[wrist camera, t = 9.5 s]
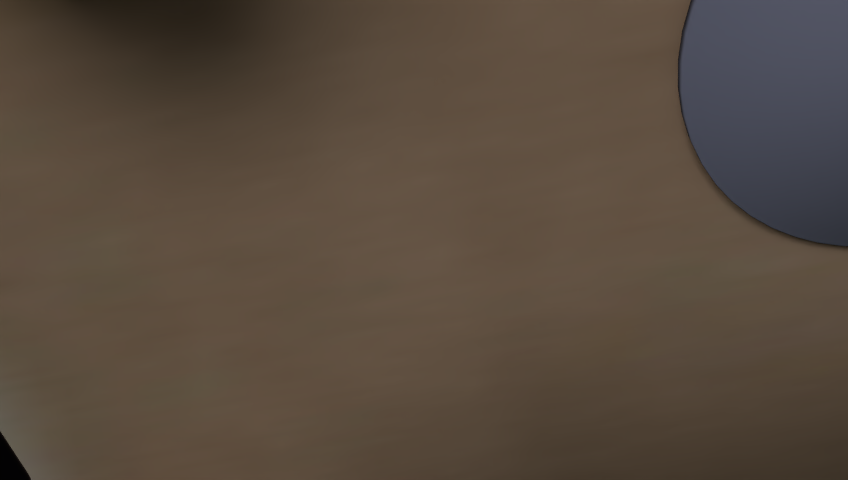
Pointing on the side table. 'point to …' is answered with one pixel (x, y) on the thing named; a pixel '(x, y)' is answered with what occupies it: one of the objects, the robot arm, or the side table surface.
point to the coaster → (771, 108)
